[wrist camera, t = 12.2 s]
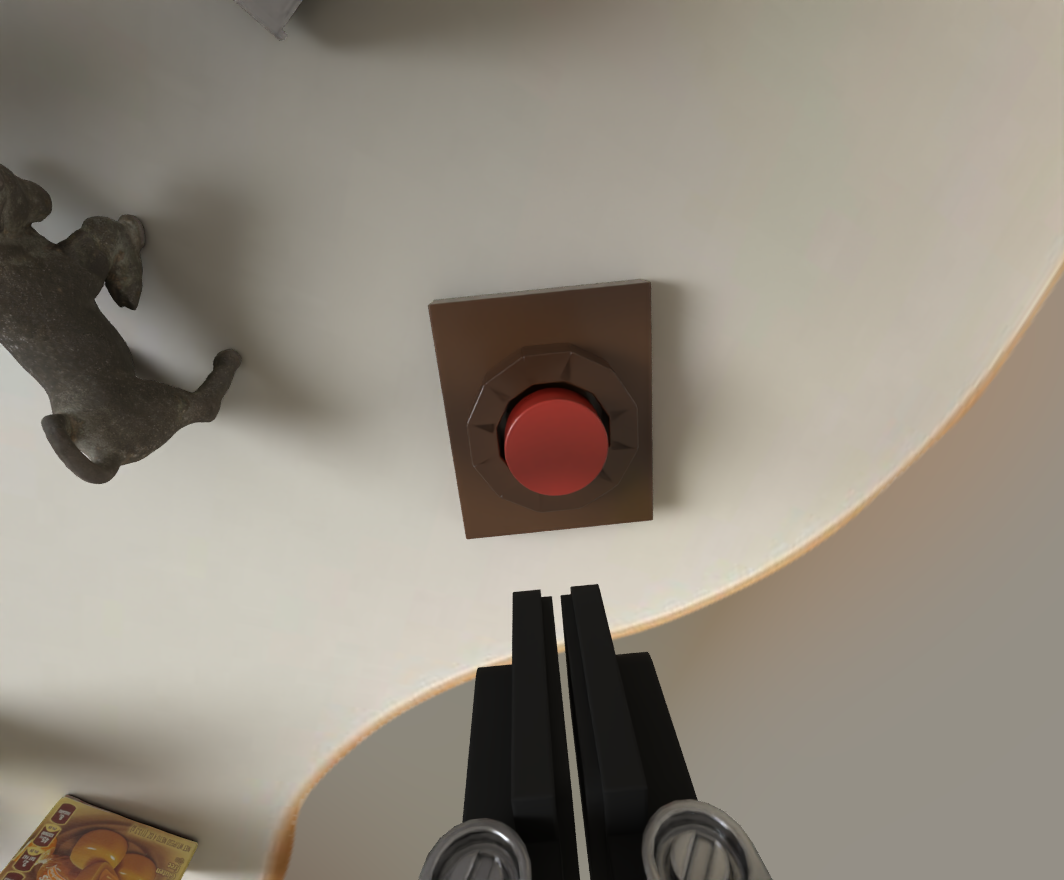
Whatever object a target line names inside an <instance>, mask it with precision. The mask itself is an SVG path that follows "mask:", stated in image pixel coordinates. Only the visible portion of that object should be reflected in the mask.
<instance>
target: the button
mask: <svg viewBox="0 0 1064 880" xmlns="http://www.w3.org/2000/svg"><path fill="white" fill-rule="evenodd" d="M504 451H505V459H506V462H507V465H508V468H509V469H510V471H511V473H512V474H513V476H514V477H515V478H516V479H517V480H518V482H520V483H521V484H522V485H523V486H525V487H526V488H528V489H530V490H532V491H534V492H537V493H540V494H544V495H551V496H559V495H566V494H570V493H574V492H576V491H578V490H580V489H582V488H584V487H586V486H587V485H588V484H590V483H591V482H592V481H593V480H594V479H595V478H596V477H597V476H598V474H599V473H600V471H601V470H602V468H603V466H604V464H605V462H606V459H607V455H608V436H607V432H606V430H605V427H604V425H603V423H602V421H601V419H600V417H599V415H598V413H597V411H596V410H595V408H594V407H593V405H592V404H591V403H590V402H589V401H588V400H587V399H586V398H585V397H583V396H582V395H580V394H578V393H577V392H575V391H572V390H569V389H565V388H557V387H555V388H545V389H541V390H537V391H535V392H532V393H530V394H529V395H527V396H525V397H524V398H523V399H522V400H520V401H519V402H518V403H517V404H516V405H515V407H514V408H513V409H512V411H511V413H510V415H509V417H508V419H507V422H506V426H505V442H504Z"/></svg>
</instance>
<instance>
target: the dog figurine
mask: <svg viewBox="0 0 1064 880" xmlns="http://www.w3.org/2000/svg"><path fill="white" fill-rule="evenodd" d="M51 211H52V201H51V198H50V196H49V194H48V193H47V192H46V191H45V190H44V189H43V188H42V187H40V186H39V185H37V184H36V183H34V182H31V181H28V180H23V179H21V178H19V177H17V176H15V175H14V174H13V173H12V172H11V171H10V170H9V169H8V168H6V167H5V166H3V165H2V164H0V343H1V344H2V345H3V346H4V347H5V348H6V349H7V350H8V351H9V352H10V353H11V354H12V356H13V357H14V358H15V359H16V360H17V361H18V362H19V364H20V365H21V366H22V367H23V368H24V369H25V370H26V371H27V372H28V373H29V374H31V375H32V376H33V377H34V378H35V379H36V380H37V381H38V382H39V384H40V385H41V386H42V387H43V388H44V389H45V391H46V393H47V394H48V396H49V399H50V403H51V407H52V413H53V414H52V415H48V416H45V417H44V418H43V419H42V421H41V424H42V427H43V430H44V432H45V434H46V437H47V439H48V441H49V443H50V444H51V446H52V448H53V449H54V451H55V453H56V454H57V455H58V457H59V458H60V459H61V460H62V461H63V462H64V464H65V465H66V467H67V468H69V469H70V470H71V471H72V472H73V473H74V474H75V475H76V476H78V477H79V478H81V479H82V480H84V481H86V482H89V483H94V484H102V483H106V482H108V481H110V480H111V479H112V478H113V477H114V476H115V475H116V473H117V471H118V469H119V467H120V466H121V465H125V464H128V463H133V462H137V461H139V460H141V459H143V458H145V457H146V456H148V455H149V454H151V453H152V452H153V451H155V450H156V449H158V448H159V447H161V446H162V445H163V444H164V443H166V442H167V441H168V440H169V439H170V438H171V437H172V436H173V435H174V434H175V433H176V432H177V431H178V430H179V429H181V428H183V427H185V426H187V425H189V424H192V423H196V422H211V421H213V420H214V419H215V418H216V416H217V414H218V412H219V409H220V405H221V401H222V398H223V397H224V395H225V393H226V392H227V390H228V389H229V387H230V385H231V382H232V379H233V376H234V373H235V371H236V369H237V368H238V367H239V365H240V363H241V357H240V355H239V354H238V353H237V352H236V351H235V350H232V349H228V350H224V351H221V352H219V353H218V354H217V355H216V357H215V358H214V361H213V371H212V372H211V373H210V374H209V375H208V377H207V378H206V380H205V381H204V383H203V384H202V385H201V386H200V387H199V388H198V389H197V390H196V391H195V392H188V391H185V390H182V389H179V388H175V387H172V386H169V385H166V384H163V383H159V382H156V381H153V380H143V379H140V378H138V377H136V374H135V369H134V365H133V360H132V356H131V352H130V350H129V348H128V346H127V344H126V342H125V341H124V339H123V338H122V337H121V335H120V334H119V333H118V331H117V330H116V329H115V328H114V326H113V325H112V324H111V323H110V322H109V321H108V320H107V318H106V317H105V316H104V315H103V314H102V312H101V311H100V309H99V308H98V306H97V304H96V302H95V300H94V299H95V298H96V296H97V295H98V294H99V292H100V291H101V289H102V287H103V284H104V282H105V286H106V288H107V289H108V292H109V294H110V295H111V297H112V298H113V300H114V301H115V302H116V303H117V305H118V306H119V307H127V308H129V309H131V310H136V308H137V307H138V303H139V299H140V296H141V292H142V286H143V285H142V272H143V269H142V263H141V258H140V249H141V248H142V247H143V246H144V244H145V235H144V229H143V225H142V224H141V222H140V221H139V220H138V219H137V218H136V217H135V216H133V215H121V216H120V218H119V221H115V220H113V219H111V218H108V217H102V216H96V217H90V218H87V219H86V220H85V221H84V222H83V224H82V227H81V228H80V229H79V230H76V231H75V232H74V233H72V234H71V235H70V236H69V237H68V238H67V239H65V240H63V241H61V242H59V243H58V244H54V243H52V242H50V241H48V240H47V239H46V238H45V237H43V236H42V235H40V234H39V233H38V232H37V231H36V230H34V229H33V228H32V227H31V224H32V223H34V222H41V221H43V220H44V219H45V218H46V217H47V216H48V215H49V214H50V213H51ZM81 451H82V452H83V453H85V454H86V455H87V456H88V457H89V458H90V459H91V461H90V460H89V459H88V458H87V457H86V456H85V455H84V454H83V453H82V452H81Z"/></svg>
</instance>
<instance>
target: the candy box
mask: <svg viewBox="0 0 1064 880" xmlns="http://www.w3.org/2000/svg"><path fill="white" fill-rule="evenodd" d="M197 846H198V843H197V842H194V841H190V840H187V839H184V838H181V837H178V836H175V835H172V834H169V833H167V832H164V831H162V830H159V829H156V828H153V827H151V826H148V825H145V824H142V823H139V822H136V821H133V820H130V819H127V818H125V817H123V816H120V815H118V814H115V813H113V812H110V811H107V810H105V809H101V808H98V807H95V806H93V805H90V804H88V803H85V802H83V801H82V800H80V799H78V798H75V797H72V796H70V795H65V797H62V798H61V799H60V800H59V801H58V802H57V803H56V805H55V806H54V807H53V808H52V810H51V811H50V812H49V813H48V815H47V816H46V817H45V818H44V820H43V821H42V822H41V823H40V825H39V826H38V827H37V828H36V830H35V831H34V832H33V833H32V835H31V836H30V837H29V838H28V839H27V841H26V842H25V843H24V844H23V846H22V847H21V848H20V850H19V851H18V852H17V853H16V855H15V856H14V857H13V858H12V860H11V861H10V862H9V863H8V865H7V866H6V867H5V868H4V870H3V871H2V872H1V873H0V880H181V878H182V876H183V874H184V872H185V870H186V869H187V867H188V865H189V863H190V861H191V859H192V857H193V855H194V853H195V851H196V849H197Z"/></svg>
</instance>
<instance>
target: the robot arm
mask: <svg viewBox="0 0 1064 880" xmlns="http://www.w3.org/2000/svg"><path fill="white" fill-rule="evenodd" d="M561 607H562V618H563V630H564V641H565V653H566V664H567V676H568V687H569V699H570V709H571V718H572V726H573V735H574V744H575V752H576V761H577V769H578V777H579V785H580V794H581V803H582V812H583V819H584V828H585V837H586V846H587V854H588V863H589V871H590V880H772V878H771V876H770V874H769V872H768V870H767V869H766V867H765V865H764V863H763V861H762V859H761V857H760V856H759V854H758V852H757V850H756V848H755V846H754V844H753V843H752V841H751V840H750V838H749V837H748V835H747V834H746V833H745V831H744V830H743V828H742V827H741V826H740V825H739V824H738V823H737V822H736V821H735V820H734V819H733V818H732V817H730V816H729V815H728V814H727V813H726V812H724V811H722V810H721V809H718V808H717V807H715V806H713V805H711V804H709V803H705V802H701V801H698V800H697V797H696V794H695V791H694V787H693V785H692V781H691V778H690V775H689V772H688V769H687V766H686V763H685V760H684V757H683V754H682V751H681V748H680V745H679V741H678V739H677V736H676V732H675V729H674V726H673V723H672V720H671V717H670V714H669V711H668V708H667V705H666V703H665V699H664V695H663V693H662V689H661V686H660V683H659V680H658V677H657V674H656V671H655V668H654V665H653V662H652V659H651V657H650V655H649V653H648V652H641V653H629V654H619V655H615V651H614V646H613V642H612V638H611V634H610V630H609V626H608V622H607V617H606V613H605V609H604V605H603V601H602V597H601V593H600V589H599V585H598V584H594V585H584V586H573V587H571V594H570V595H561ZM572 801H573V800H572V790H571V780H570V770H569V761H568V750H567V741H566V730H565V721H564V711H563V701H562V693H561V683H560V672H559V662H558V652H557V642H556V632H555V623H554V613H553V603H552V596H549V597H541V591H540V590H531V591H520V592H513V623H512V665H501V666H491V667H480V668H478V669H477V673H476V681H475V692H474V703H473V713H472V724H471V736H470V746H469V757H468V769H467V779H466V789H465V801H464V812H463V823H461V824H459V825H457V826H454V827H453V828H452V829H451V830H450V831H448V832H447V833H446V834H445V835H443V836H442V837H441V838H440V839H439V840H438V842H437V843H436V844H435V846H434V847H433V848H432V850H431V851H430V852H429V854H428V856H427V858H426V861H425V863H424V865H423V868H422V871H421V873H420V876H419V880H580V875H579V865H578V854H577V843H576V833H575V822H574V811H573V802H572Z"/></svg>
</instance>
